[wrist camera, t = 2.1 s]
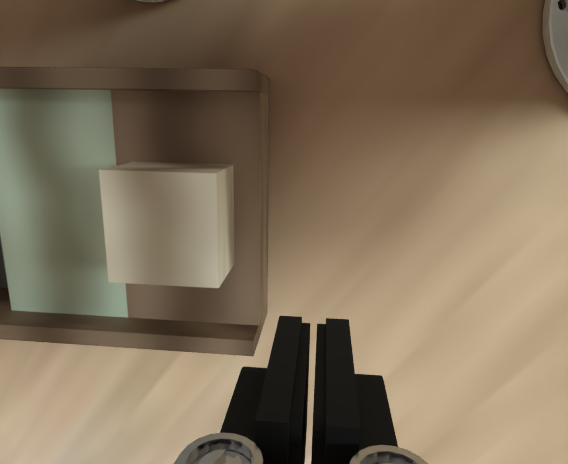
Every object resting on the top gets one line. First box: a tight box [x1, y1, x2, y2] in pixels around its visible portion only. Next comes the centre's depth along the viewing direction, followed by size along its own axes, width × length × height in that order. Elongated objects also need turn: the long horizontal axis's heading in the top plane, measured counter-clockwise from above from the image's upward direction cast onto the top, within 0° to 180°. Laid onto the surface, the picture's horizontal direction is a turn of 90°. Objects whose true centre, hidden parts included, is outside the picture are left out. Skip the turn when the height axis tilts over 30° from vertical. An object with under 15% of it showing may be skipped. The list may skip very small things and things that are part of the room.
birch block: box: [99, 162, 234, 288], centre depth 25 cm, size 6×6×4 cm
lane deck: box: [0, 67, 269, 356], centre depth 29 cm, size 25×16×6 cm, turn 89°
